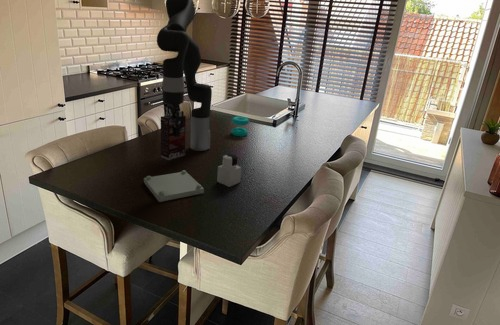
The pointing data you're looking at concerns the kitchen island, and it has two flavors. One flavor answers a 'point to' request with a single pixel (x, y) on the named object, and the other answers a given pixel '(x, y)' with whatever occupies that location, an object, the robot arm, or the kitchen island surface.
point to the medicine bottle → (229, 171)
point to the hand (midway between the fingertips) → (173, 133)
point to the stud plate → (173, 186)
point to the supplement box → (172, 139)
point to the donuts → (239, 130)
